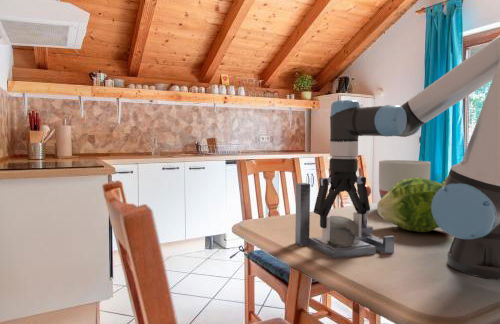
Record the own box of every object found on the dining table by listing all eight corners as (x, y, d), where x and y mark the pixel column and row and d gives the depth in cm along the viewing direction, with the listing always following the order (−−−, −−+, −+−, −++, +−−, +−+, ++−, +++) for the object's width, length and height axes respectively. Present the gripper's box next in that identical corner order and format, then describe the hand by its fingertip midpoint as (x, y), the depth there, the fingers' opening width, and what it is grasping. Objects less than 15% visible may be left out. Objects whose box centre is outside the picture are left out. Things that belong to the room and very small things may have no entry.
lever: (372, 233, 107) (374, 185, 106) (361, 234, 106) (362, 185, 105) (364, 230, 111) (365, 183, 110) (353, 231, 109) (354, 183, 108)
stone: (320, 244, 96) (324, 208, 100) (322, 249, 104) (326, 216, 108) (355, 249, 94) (357, 211, 97) (355, 253, 102) (357, 219, 105)
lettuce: (374, 223, 134) (370, 177, 131) (441, 217, 130) (438, 169, 126) (386, 246, 115) (381, 192, 112) (464, 240, 111) (462, 184, 108)
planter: (416, 218, 141) (418, 163, 140) (369, 210, 156) (370, 161, 154) (436, 211, 155) (438, 161, 153) (391, 204, 170) (392, 159, 168)
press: (394, 252, 98) (396, 187, 97) (326, 261, 91) (327, 191, 89) (355, 236, 114) (356, 180, 113) (295, 243, 107) (296, 183, 105)
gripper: (367, 156, 105) (365, 230, 107) (301, 157, 98) (300, 237, 99) (385, 157, 98) (383, 237, 100) (315, 159, 91) (313, 245, 92)
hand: (341, 237), depth 100 cm, fingers open, 9 cm apart
